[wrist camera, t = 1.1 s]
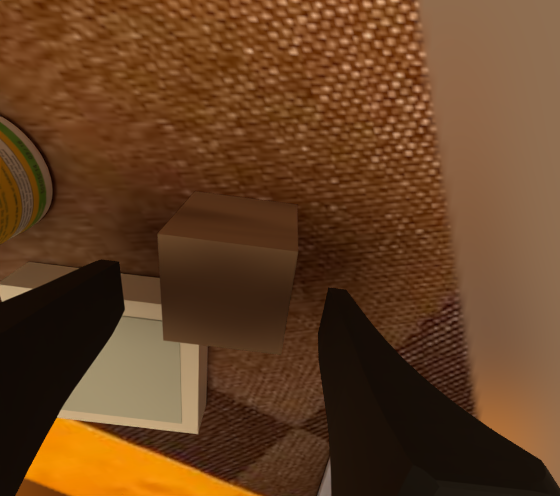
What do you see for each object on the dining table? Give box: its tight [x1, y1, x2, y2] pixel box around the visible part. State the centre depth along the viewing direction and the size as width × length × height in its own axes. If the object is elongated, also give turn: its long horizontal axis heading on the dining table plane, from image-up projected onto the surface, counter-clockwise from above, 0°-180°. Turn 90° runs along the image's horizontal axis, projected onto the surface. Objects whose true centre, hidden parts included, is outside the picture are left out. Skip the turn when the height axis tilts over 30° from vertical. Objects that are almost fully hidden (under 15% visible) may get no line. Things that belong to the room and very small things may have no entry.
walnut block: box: [157, 191, 298, 355], centre depth 13 cm, size 4×4×4 cm
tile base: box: [0, 262, 208, 434], centre depth 18 cm, size 9×9×2 cm
